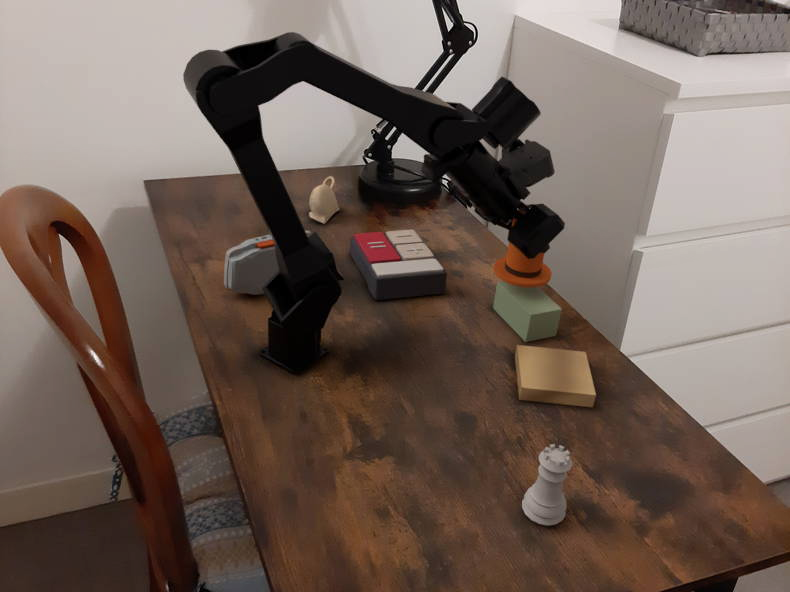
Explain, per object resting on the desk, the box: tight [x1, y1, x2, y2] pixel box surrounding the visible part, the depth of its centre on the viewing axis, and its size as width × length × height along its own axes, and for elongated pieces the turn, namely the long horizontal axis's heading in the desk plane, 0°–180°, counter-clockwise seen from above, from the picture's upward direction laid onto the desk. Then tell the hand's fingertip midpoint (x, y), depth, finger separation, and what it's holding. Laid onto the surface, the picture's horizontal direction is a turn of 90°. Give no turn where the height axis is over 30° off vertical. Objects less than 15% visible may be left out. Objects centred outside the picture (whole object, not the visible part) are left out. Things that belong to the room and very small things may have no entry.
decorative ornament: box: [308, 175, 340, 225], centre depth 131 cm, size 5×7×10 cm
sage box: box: [492, 280, 563, 343], centre depth 106 cm, size 5×9×4 cm, turn 24°
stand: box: [514, 344, 597, 408], centre depth 95 cm, size 9×9×2 cm
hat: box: [493, 203, 552, 288], centre depth 103 cm, size 8×8×10 cm
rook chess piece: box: [521, 443, 573, 527], centre depth 75 cm, size 4×4×8 cm
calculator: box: [349, 229, 448, 301], centre depth 116 cm, size 11×4×15 cm
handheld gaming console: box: [223, 229, 313, 296], centre depth 108 cm, size 14×3×8 cm, turn 124°
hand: (536, 241), depth 104 cm, fingers closed on hat, 5 cm apart
